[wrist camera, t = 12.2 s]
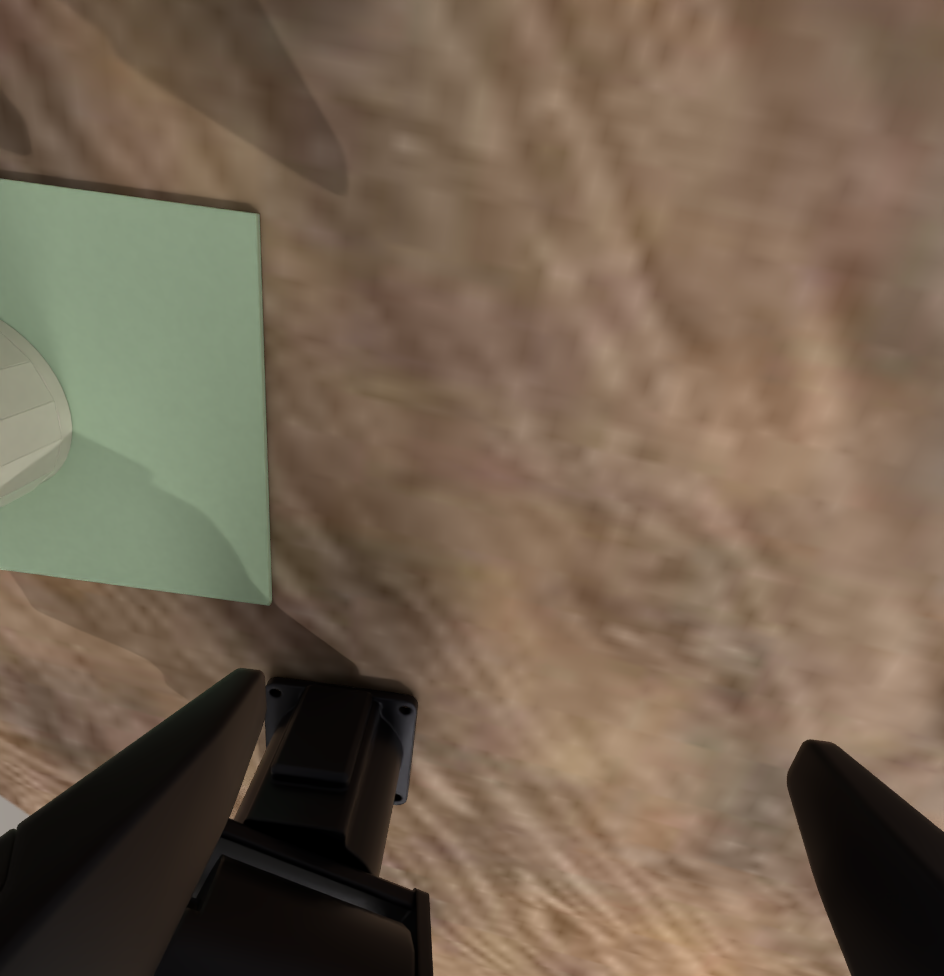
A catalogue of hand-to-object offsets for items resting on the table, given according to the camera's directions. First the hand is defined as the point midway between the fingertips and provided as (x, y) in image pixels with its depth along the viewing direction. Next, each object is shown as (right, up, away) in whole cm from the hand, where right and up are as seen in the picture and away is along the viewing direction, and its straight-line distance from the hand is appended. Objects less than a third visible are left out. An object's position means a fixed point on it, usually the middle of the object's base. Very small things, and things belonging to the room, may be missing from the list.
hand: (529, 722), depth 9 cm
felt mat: (-18, +7, +10) cm, 22 cm away
